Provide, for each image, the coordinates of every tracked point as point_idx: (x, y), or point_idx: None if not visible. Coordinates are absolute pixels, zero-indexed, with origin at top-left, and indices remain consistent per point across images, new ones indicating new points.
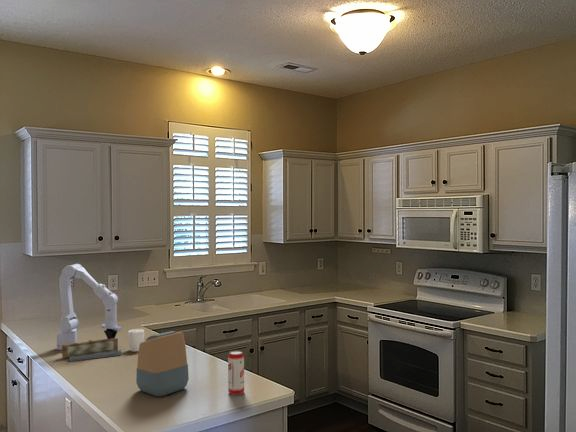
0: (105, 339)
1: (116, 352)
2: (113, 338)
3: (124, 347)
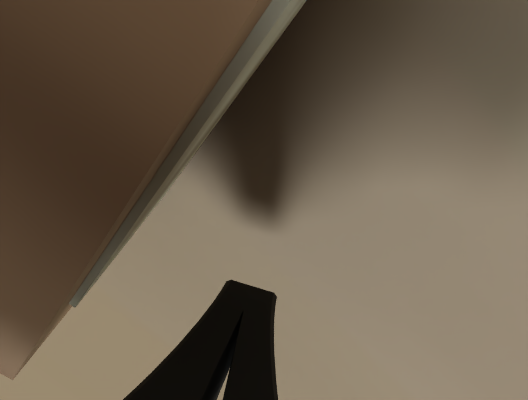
0: (67, 221)
1: None
2: (5, 336)
3: (175, 316)
